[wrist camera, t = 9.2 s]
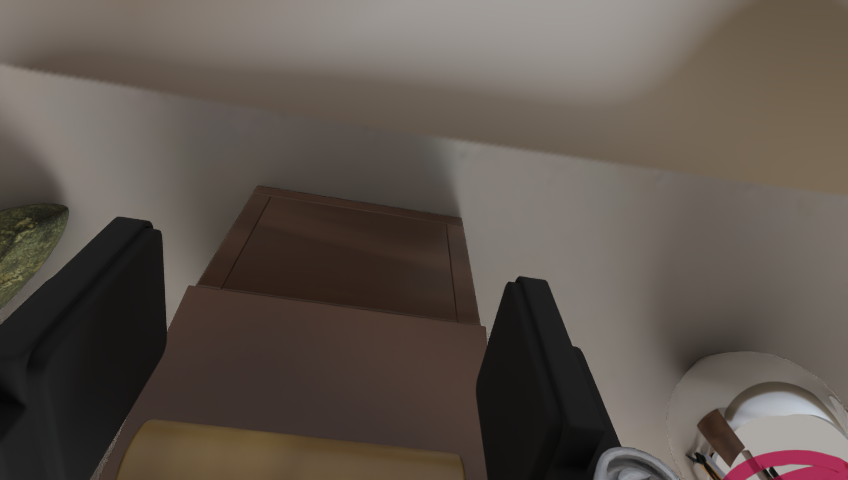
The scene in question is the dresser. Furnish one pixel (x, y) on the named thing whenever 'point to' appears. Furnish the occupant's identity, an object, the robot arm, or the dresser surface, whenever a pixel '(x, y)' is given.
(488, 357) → the robot arm
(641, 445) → the dresser surface
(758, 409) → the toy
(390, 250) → the chest
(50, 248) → the decorative stone
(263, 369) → the lid
